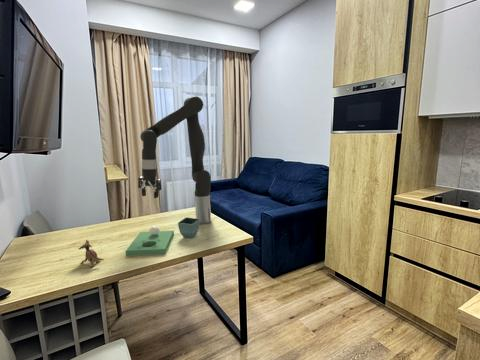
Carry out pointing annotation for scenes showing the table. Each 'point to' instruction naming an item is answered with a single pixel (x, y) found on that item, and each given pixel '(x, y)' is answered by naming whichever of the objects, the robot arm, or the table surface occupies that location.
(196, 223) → the flower pot
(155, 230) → the ball
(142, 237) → the putting mat
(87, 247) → the dinosaur figurine
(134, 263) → the table surface
